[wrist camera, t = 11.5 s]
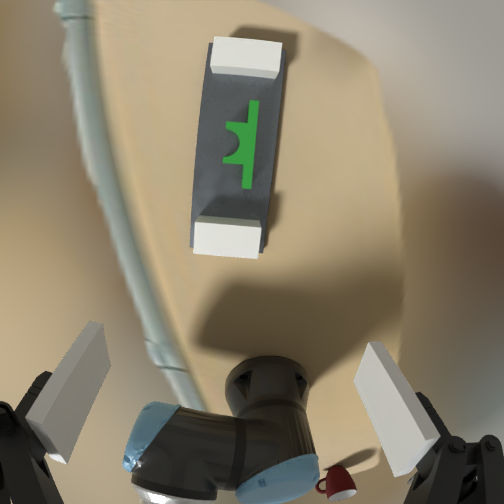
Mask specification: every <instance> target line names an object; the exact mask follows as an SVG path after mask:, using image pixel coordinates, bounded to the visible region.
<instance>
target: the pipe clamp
mask: <svg viewBox="0 0 504 504" xmlns="http://www.w3.org/2000/svg"><path fill="white" fill-rule="evenodd" d="M258 108H259V101H256V100H250V102H249V107H248V117H247V123H241V122H226V129H227V130H230V131H233V132H234V133H236V135H237V136H238V138H239V141H240V145H239V148H238V150H237V151H236V152H235V153H234V154H233V155H231V156H225V157H223V163H229V164H243V174H242V188H244V189H251V185H252V174H253V163H254V151H255V140H256V129H257V119H258Z"/></svg>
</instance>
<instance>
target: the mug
mask: <svg viewBox="0 0 504 504" xmlns="http://www.w3.org/2000/svg"><path fill="white" fill-rule="evenodd" d="M325 480H326V490H321V489H320V488H319V484H320V483H321V482H322V481H325ZM315 488H316V490H317V491H318V492H319V493H321V494H324V493H326V494H327V498H328V500H329V501H340V500H343V499H347V498H349V497H351V496H353V495H354V494H355V493H356V492H357V489H356V486H355V483H354V481H353V479H352V478H351V476H350V474H349V472H348V471H347V470H346V469H345V468H343V467H342V466H340V465H338V466H333V467H331V468H330V469H329V470H328V473H327V475H326V478H323V479H321V480H319V481H318V483H317V484H316V486H315Z"/></svg>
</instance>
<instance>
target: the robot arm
mask: <svg viewBox="0 0 504 504" xmlns="http://www.w3.org/2000/svg"><path fill="white" fill-rule="evenodd" d="M110 367H111V364H110V360H109V354H108V350H107V344H106V339H105V334H104V328H103V324H102V323H97V322H92V321H89V322H88V324H87V325H86V326H85V328H84V329H83V330H82V332H81V333H80V335H79V336H78V337H77V339H76V340H75V342H74V343H73V344H72V346H71V347H70V349H69V350H68V352H67V353H66V355H65V356H64V357H63V359H62V360H61V362H60V363H59V365H58V367H57V368H56V369H55V371H54V372H53V373H51V372H47V371H45V372H43V373H42V374H40V375H39V376H38V377H37V378H36V379H35V381H34V382H33V383H32V386H31V387H30V388H29V389H28V392H27V393H26V394H25V396H24V397H23V399H22V400H21V402H20V403H19V405H18V406H17V408H16V409H15V411H13V409H12V407H11V406H10V405H9V404H8V403H6V402H3V401H0V504H11V501H10V497H11V500H12V503H13V504H64V503H63V500H62V498H61V496H60V494H59V492H58V489H57V487H56V485H55V482H54V480H53V478H52V475H51V473H50V470H49V468H48V465H47V462H46V460H45V459H44V456H45V453H46V452H47V453H48V454H49V455H50V457H51V458H52V459H54V460H56V461H59V462H62V463H64V464H68V461H69V459H70V456H71V454H72V451H73V449H74V446H75V444H76V442H77V439H78V436H79V434H80V432H81V430H82V427H83V425H84V423H85V421H86V418H87V416H88V414H89V411H90V409H91V407H92V405H93V403H94V400H95V398H96V396H97V394H98V392H99V390H100V388H101V385H102V383H103V381H104V379H105V377H106V375H107V373H108V371H109V369H110ZM353 382H354V384H355V386H356V388H357V390H358V393H359V395H360V397H361V399H362V402H363V404H364V406H365V408H366V411H367V413H368V415H369V417H370V420H371V422H372V424H373V427H374V429H375V431H376V434H377V436H378V438H379V441H380V443H381V445H382V448H383V450H384V452H385V455H386V457H387V460H388V462H389V465H390V467H391V469H392V472H393V474H394V476H395V477H397V476H401V475H404V474H408V473H410V471H411V470H412V469H413V468H414V467H415V466H416V468H417V470H418V471H417V472H416V474H415V475H414V476H413V477H412V478H411V479H410V480H409V481H408V483H407V484H410V482H412V484H411V487H410V489H409V492H408V494H407V497H406V499H405V501H404V504H504V456H503V450H502V445H501V442H500V441H499V439H498V438H497V437H495V436H493V435H485V436H484V437H483V438H482V439H481V440H480V441H479V442H478V443H466V442H465V441H464V440H463V439H462V438H460V437H458V436H451V434H450V433H449V431H448V430H447V428H446V426H445V425H444V423H443V421H442V420H441V418H440V417H439V415H438V414H437V412H436V410H435V409H434V408H433V406H432V404H431V403H430V401H429V399H428V398H427V397H425V396H424V395H423V394H422V393H421V392H417V393H414V391H413V390H412V388H411V386H410V385H409V383H408V382H407V380H406V379H405V377H404V375H403V374H402V372H401V371H400V369H399V368H398V366H397V365H396V363H395V362H394V360H393V359H392V357H391V356H390V354H389V352H388V351H387V349H386V348H385V346H384V345H383V343H382V342H381V341H373V342H368V344H367V347H366V350H365V352H364V355H363V358H362V360H361V363H360V365H359V368H358V371H357V373H356V376H355V378H354V380H353ZM308 395H309V382H308V379H307V375H306V373H305V371H304V369H303V368H302V367H301V366H300V365H299V364H297V363H296V362H294V361H292V360H290V359H287V358H284V357H278V356H263V357H257V358H253V359H250V360H248V361H245V362H243V363H241V364H240V365H238V366H237V367H236V368H234V369H233V370H232V371H231V373H230V374H229V375H228V377H227V380H226V384H225V397H226V401H227V403H228V405H229V408H230V410H231V412H232V414H233V416H234V417H232V416H225V415H219V414H214V413H208V412H203V411H198V410H194V409H189V408H185V407H181V405H172V404H167V403H162V402H156V401H154V402H150V403H148V404H146V405H145V406H144V408H143V409H142V410H141V412H140V414H139V416H138V418H137V420H136V422H135V424H134V426H133V429H132V431H131V434H130V437H129V439H128V443H127V446H126V449H125V455H124V458H123V463H122V464H123V468H124V469H126V470H127V471H128V472H132V479H131V485H132V486H133V487H134V489H135V490H136V492H137V493H138V494H139V496H140V500H139V504H213V503H214V502H216V497H217V491H218V489H220V490H228V491H235V496H236V497H237V499H238V500H239V502H241V503H243V504H279V503H283V502H287V501H290V500H293V499H296V498H298V497H300V496H302V495H304V494H306V493H307V492H309V491H310V490H311V489H312V488H314V487H315V486H316V484H317V483H318V481H319V477H320V472H319V465H318V456H317V454H316V451H315V447H314V443H313V439H312V435H311V431H310V427H309V423H308V419H307V415H306V406H307V401H308ZM476 477H477V480H476Z"/></svg>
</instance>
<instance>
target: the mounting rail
mask: <svg viewBox="0 0 504 504" xmlns="http://www.w3.org/2000/svg"><path fill="white" fill-rule="evenodd" d="M281 49H282V43H279V42H272V41H264V40H255V39H245V38H232V37H214V42H213V43H209V48H208V54H207V61H206V68H205V75H204V83H203V91H202V99H201V107H200V116H199V125H198V135H197V146H196V157H195V169H194V182H193V196H192V212H191V231H190V247H194V250H193V254H204V255H216V256H228V257H240V258H252V259H258V253H263V248H264V240H265V232H266V224H267V215H268V207H269V199H270V190H271V182H272V173H273V164H274V156H275V147H276V138H277V129H278V120H279V111H280V102H281V93H282V83H283V74H284V65H285V55H286V50H281ZM250 100H256V101H259V108H258V119H257V129H256V140H255V151H254V163H253V174H252V185H251V189H244V188H242V174H243V164H229V163H223V157H225V156H231V155H233V154H234V153H235V152H236V151H237V150H238V148H239V145H240V141H239V138H238V136H237V135H236V133H234V132H233V131H230V130H227V129H226V122H241V123H247V117H248V107H249V102H250Z"/></svg>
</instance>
